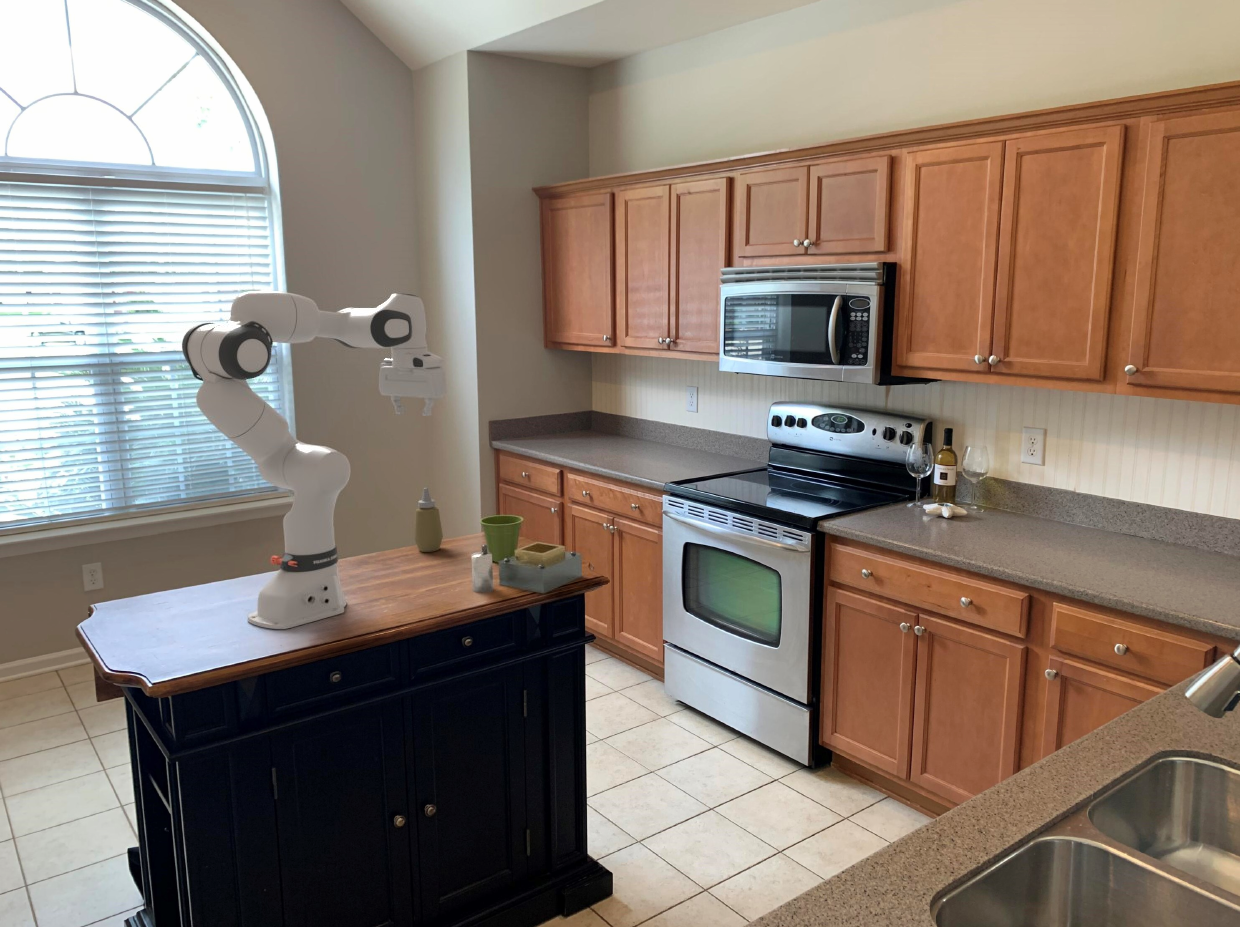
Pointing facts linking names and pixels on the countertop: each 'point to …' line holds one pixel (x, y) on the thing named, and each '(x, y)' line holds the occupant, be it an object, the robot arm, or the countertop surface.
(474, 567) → the spout can
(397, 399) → the robot arm
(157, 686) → the countertop surface
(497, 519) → the plant pot
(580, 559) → the grey square housing block
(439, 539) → the squeeze bottle
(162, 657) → the countertop surface
